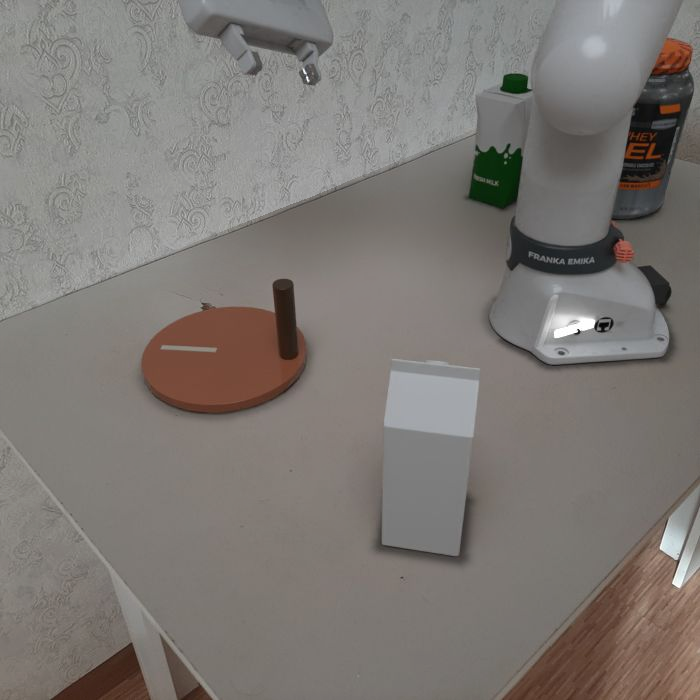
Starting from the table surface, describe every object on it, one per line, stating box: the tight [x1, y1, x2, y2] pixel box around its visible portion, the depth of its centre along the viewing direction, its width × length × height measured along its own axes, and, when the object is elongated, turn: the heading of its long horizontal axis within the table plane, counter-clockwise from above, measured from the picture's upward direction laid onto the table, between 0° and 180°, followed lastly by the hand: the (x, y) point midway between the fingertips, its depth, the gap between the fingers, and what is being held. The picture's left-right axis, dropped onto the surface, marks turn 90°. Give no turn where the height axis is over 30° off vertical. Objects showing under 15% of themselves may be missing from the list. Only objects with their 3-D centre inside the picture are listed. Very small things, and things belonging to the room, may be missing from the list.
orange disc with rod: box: [140, 278, 307, 413], centre depth 85 cm, size 20×20×11 cm
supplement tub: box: [611, 37, 695, 220], centre depth 116 cm, size 16×16×26 cm
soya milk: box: [468, 72, 534, 209], centre depth 120 cm, size 9×9×20 cm
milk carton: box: [381, 358, 481, 557], centre depth 62 cm, size 7×7×19 cm
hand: (285, 77), depth 78 cm, fingers open, 8 cm apart
